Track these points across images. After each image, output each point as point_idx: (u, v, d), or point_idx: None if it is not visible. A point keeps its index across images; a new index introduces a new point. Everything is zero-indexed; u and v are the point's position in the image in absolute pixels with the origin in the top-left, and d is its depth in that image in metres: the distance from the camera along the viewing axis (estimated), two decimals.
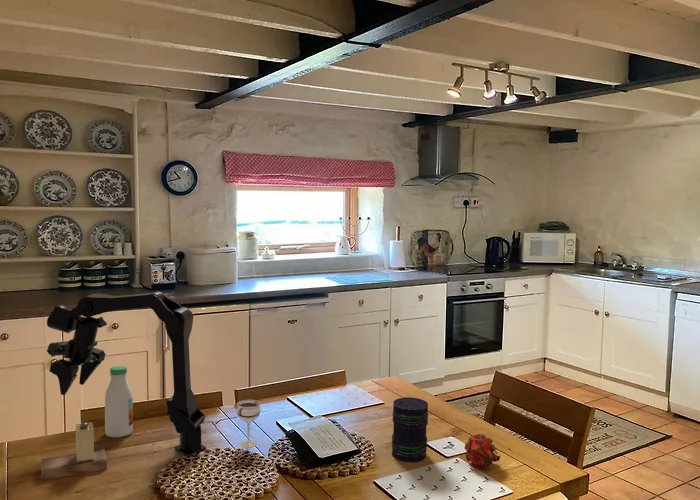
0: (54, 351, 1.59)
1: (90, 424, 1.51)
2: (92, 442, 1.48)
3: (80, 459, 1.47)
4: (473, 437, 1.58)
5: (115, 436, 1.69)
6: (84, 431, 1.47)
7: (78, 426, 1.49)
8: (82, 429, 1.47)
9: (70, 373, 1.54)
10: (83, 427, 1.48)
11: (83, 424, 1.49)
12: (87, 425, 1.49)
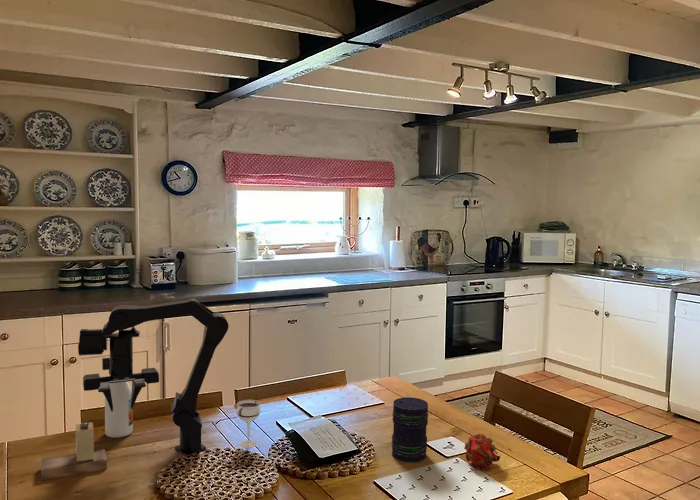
0: (103, 366, 1.58)
1: (90, 424, 1.51)
2: (92, 442, 1.48)
3: (80, 459, 1.47)
4: (473, 437, 1.58)
5: (115, 436, 1.69)
6: (84, 431, 1.47)
7: (78, 426, 1.49)
8: (82, 429, 1.47)
9: (85, 386, 1.48)
10: (83, 427, 1.48)
11: (83, 424, 1.49)
12: (87, 425, 1.49)
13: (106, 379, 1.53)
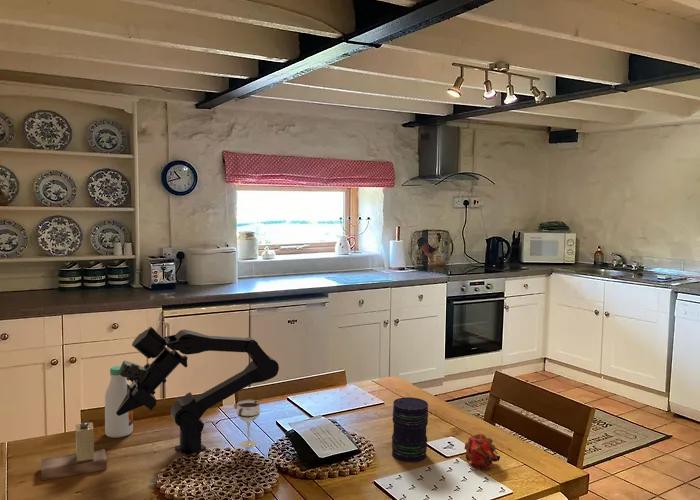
0: (134, 374, 1.50)
1: (90, 424, 1.51)
2: (92, 442, 1.48)
3: (80, 459, 1.47)
4: (473, 437, 1.58)
5: (115, 436, 1.69)
6: (84, 431, 1.47)
7: (78, 426, 1.49)
8: (82, 429, 1.47)
9: (154, 406, 1.48)
10: (83, 427, 1.48)
11: (83, 424, 1.49)
12: (87, 425, 1.49)
13: None
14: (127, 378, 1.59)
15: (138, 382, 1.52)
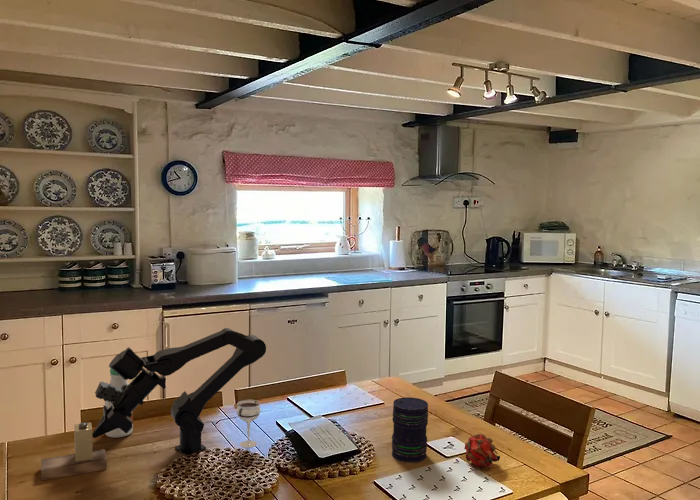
0: (110, 396, 1.48)
1: (89, 424, 1.51)
2: (91, 442, 1.48)
3: (79, 459, 1.47)
4: (473, 437, 1.58)
5: (115, 436, 1.69)
6: (83, 431, 1.47)
7: (77, 426, 1.49)
8: (81, 429, 1.47)
9: (129, 429, 1.46)
10: (82, 427, 1.48)
11: (82, 424, 1.49)
12: (86, 425, 1.49)
13: None
14: (104, 399, 1.57)
15: (114, 404, 1.50)
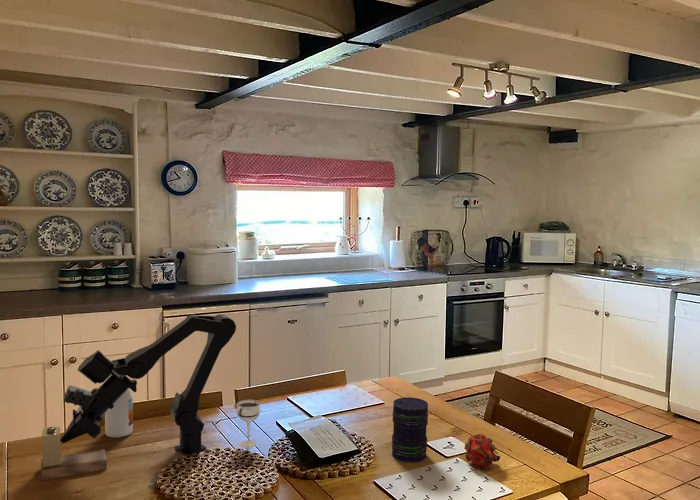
0: (78, 400, 1.44)
1: (57, 429, 1.47)
2: (59, 447, 1.45)
3: (46, 465, 1.44)
4: (473, 437, 1.58)
5: (115, 436, 1.69)
6: (51, 436, 1.44)
7: (45, 431, 1.46)
8: (48, 434, 1.44)
9: (98, 434, 1.43)
10: (50, 432, 1.45)
11: (50, 429, 1.45)
12: (54, 430, 1.46)
13: None
14: (74, 403, 1.53)
15: (83, 408, 1.46)
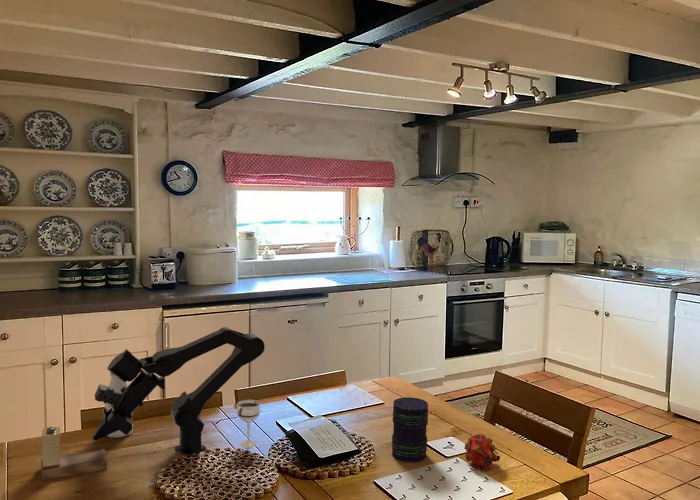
0: (109, 399, 1.48)
1: (57, 429, 1.47)
2: (58, 447, 1.45)
3: (46, 465, 1.44)
4: (473, 437, 1.58)
5: (115, 436, 1.69)
6: (50, 436, 1.44)
7: (44, 431, 1.46)
8: (48, 434, 1.44)
9: (130, 431, 1.46)
10: (49, 432, 1.45)
11: (49, 429, 1.45)
12: (54, 430, 1.45)
13: None
14: (104, 401, 1.57)
15: (114, 406, 1.50)
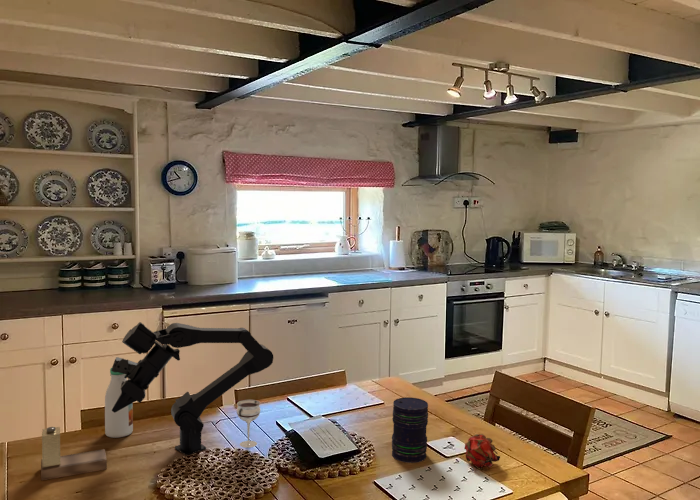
0: (123, 368, 1.50)
1: (57, 429, 1.47)
2: (58, 447, 1.45)
3: (46, 465, 1.44)
4: (473, 437, 1.58)
5: (115, 436, 1.69)
6: (50, 436, 1.44)
7: (44, 431, 1.46)
8: (48, 434, 1.44)
9: (142, 399, 1.47)
10: (49, 432, 1.45)
11: (49, 429, 1.45)
12: (54, 430, 1.45)
13: None
14: (124, 376, 1.60)
15: (129, 377, 1.52)
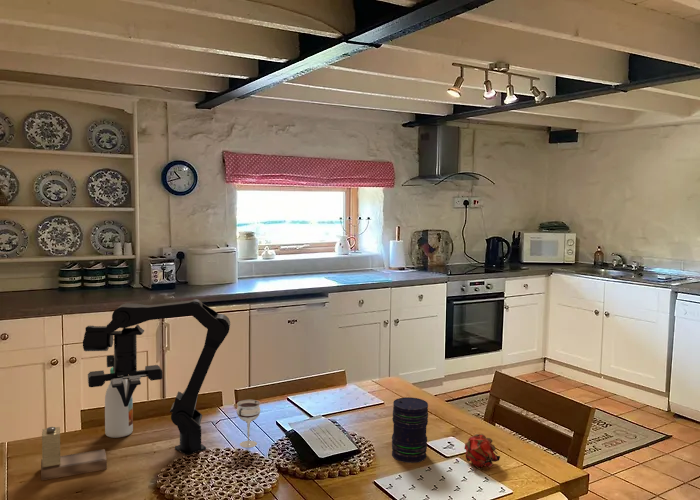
0: (107, 363, 1.61)
1: (57, 429, 1.47)
2: (58, 447, 1.45)
3: (46, 465, 1.44)
4: (473, 437, 1.58)
5: (115, 436, 1.69)
6: (50, 436, 1.44)
7: (44, 431, 1.46)
8: (48, 434, 1.44)
9: (90, 382, 1.51)
10: (49, 432, 1.45)
11: (49, 429, 1.45)
12: (54, 430, 1.45)
13: None
14: None
15: (113, 369, 1.59)
